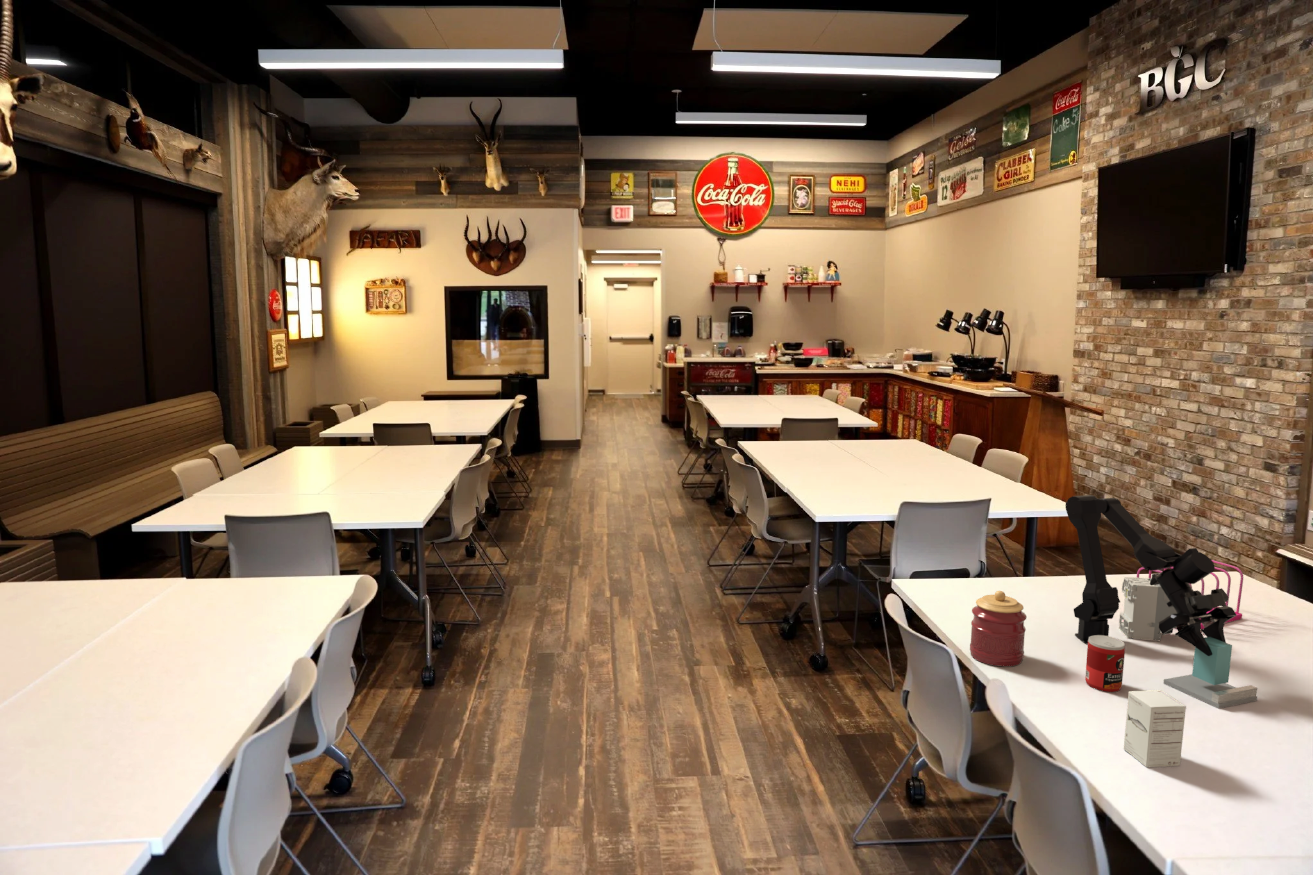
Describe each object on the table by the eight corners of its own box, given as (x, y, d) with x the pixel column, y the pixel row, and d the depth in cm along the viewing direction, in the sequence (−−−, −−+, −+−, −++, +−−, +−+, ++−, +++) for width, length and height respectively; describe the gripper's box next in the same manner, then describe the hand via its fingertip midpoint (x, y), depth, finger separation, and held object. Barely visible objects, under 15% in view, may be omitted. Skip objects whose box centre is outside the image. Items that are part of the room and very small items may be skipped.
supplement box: (1122, 749, 175) (1127, 690, 173) (1156, 747, 176) (1162, 688, 174) (1145, 768, 168) (1150, 706, 166) (1181, 766, 168) (1187, 705, 167)
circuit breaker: (1185, 642, 232) (1190, 588, 230) (1127, 638, 235) (1131, 585, 233) (1174, 632, 239) (1179, 580, 237) (1118, 628, 242) (1122, 576, 240)
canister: (977, 644, 231) (981, 580, 228) (1028, 655, 223) (1033, 589, 221) (963, 659, 220) (966, 592, 218) (1016, 671, 213) (1021, 602, 210)
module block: (1192, 675, 203) (1195, 638, 202) (1206, 672, 205) (1209, 636, 203) (1213, 685, 198) (1217, 647, 197) (1228, 682, 200) (1232, 645, 198)
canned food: (1108, 695, 200) (1111, 649, 198) (1077, 682, 207) (1080, 638, 205) (1129, 688, 203) (1133, 643, 202) (1098, 676, 210) (1101, 632, 209)
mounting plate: (1163, 683, 206) (1164, 671, 206) (1200, 676, 210) (1201, 664, 210) (1218, 708, 193) (1219, 695, 193) (1256, 700, 197) (1258, 688, 197)
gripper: (1173, 581, 199) (1214, 644, 190) (1232, 573, 205) (1274, 634, 196) (1141, 603, 207) (1178, 664, 198) (1199, 595, 213) (1237, 654, 205)
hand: (1218, 654), depth 199 cm, fingers closed on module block, 4 cm apart
